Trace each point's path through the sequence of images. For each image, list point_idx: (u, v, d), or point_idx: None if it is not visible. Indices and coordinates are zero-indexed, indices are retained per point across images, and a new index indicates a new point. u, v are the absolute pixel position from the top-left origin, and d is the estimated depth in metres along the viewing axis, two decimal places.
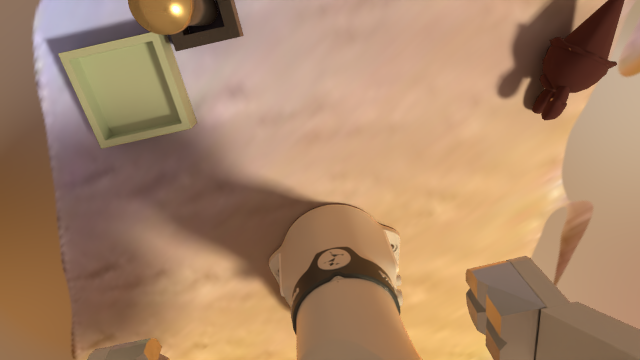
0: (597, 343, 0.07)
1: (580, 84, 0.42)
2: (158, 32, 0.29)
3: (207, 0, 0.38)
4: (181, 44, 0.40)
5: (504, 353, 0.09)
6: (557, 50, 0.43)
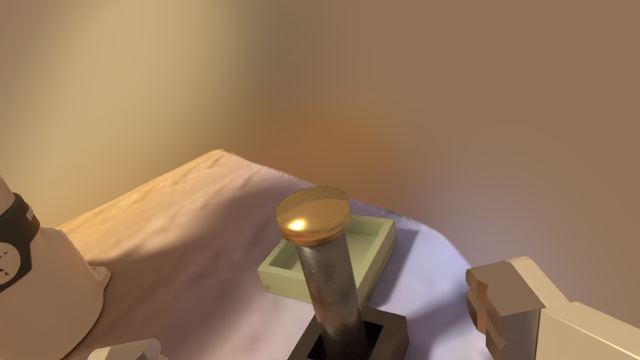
0: (597, 343, 0.07)
1: None
2: (291, 195, 0.24)
3: (337, 344, 0.26)
4: None
5: (504, 353, 0.09)
6: None
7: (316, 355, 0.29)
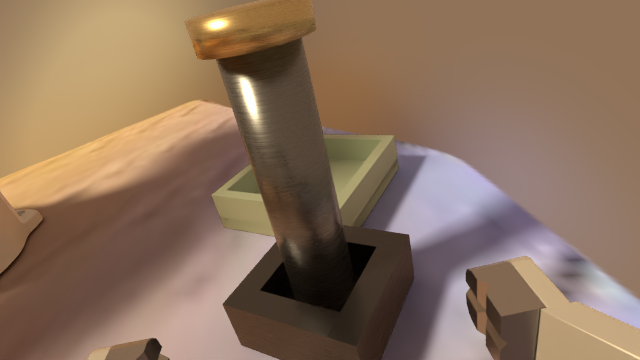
0: (597, 343, 0.07)
1: None
2: (221, 9, 0.15)
3: (302, 264, 0.17)
4: None
5: (504, 353, 0.09)
6: None
7: (277, 291, 0.20)
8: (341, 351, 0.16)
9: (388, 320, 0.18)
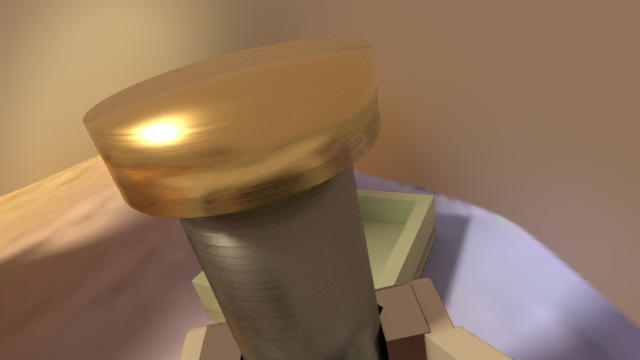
0: None
1: None
2: (183, 67, 0.08)
3: None
4: None
5: None
6: None
7: None
8: None
9: None
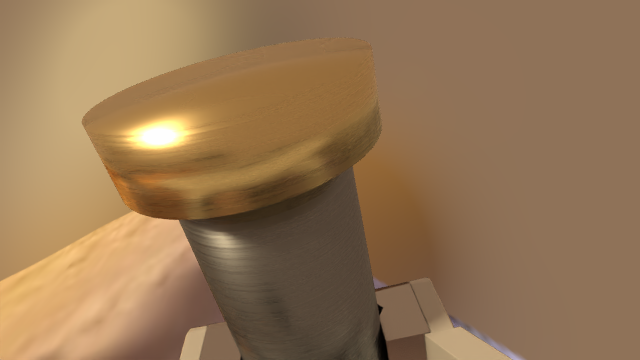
0: None
1: None
2: (182, 68, 0.08)
3: None
4: None
5: None
6: None
7: None
8: None
9: None
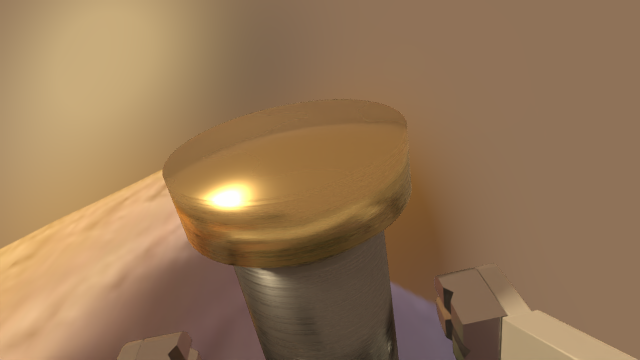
0: (554, 352, 0.07)
1: None
2: (232, 121, 0.09)
3: None
4: None
5: None
6: None
7: None
8: None
9: None
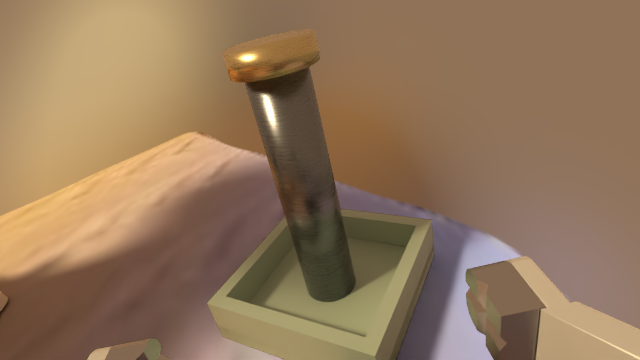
0: (597, 343, 0.07)
1: None
2: (246, 42, 0.19)
3: (308, 241, 0.21)
4: None
5: (504, 353, 0.09)
6: None
7: None
8: None
9: None
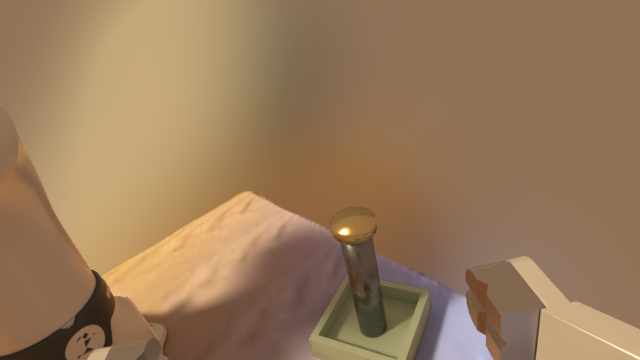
0: (597, 343, 0.07)
1: None
2: (338, 212, 0.39)
3: (365, 308, 0.41)
4: None
5: (503, 353, 0.09)
6: None
7: None
8: None
9: None
